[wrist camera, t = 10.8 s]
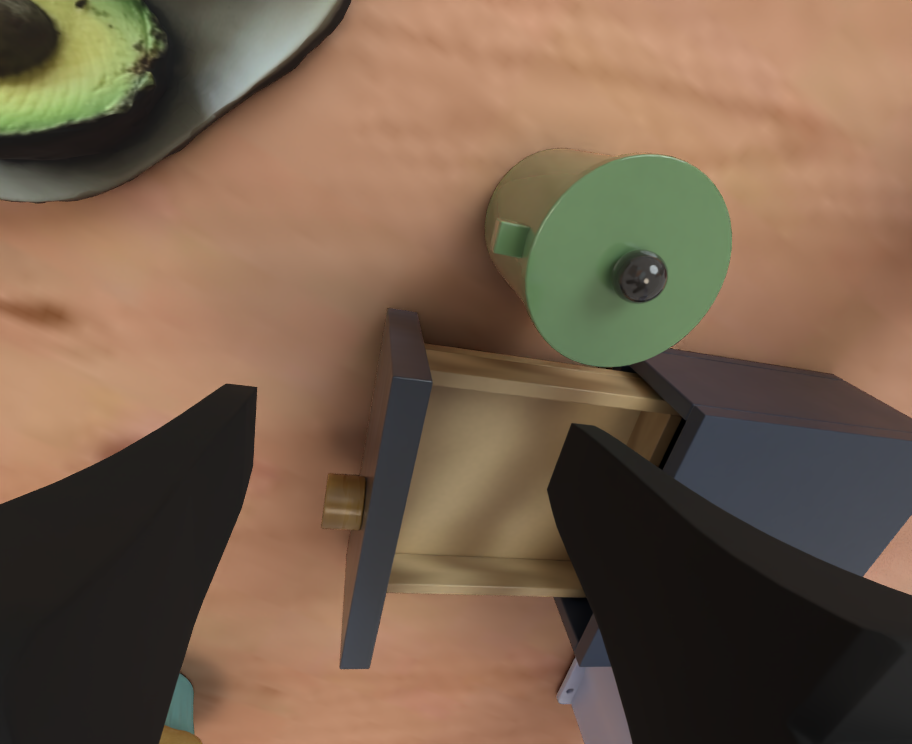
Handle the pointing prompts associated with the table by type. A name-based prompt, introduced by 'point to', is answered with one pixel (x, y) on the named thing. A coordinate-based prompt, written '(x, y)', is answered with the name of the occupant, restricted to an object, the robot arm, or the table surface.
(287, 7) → the avocado toast plate
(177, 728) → the cupcake
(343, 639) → the drawer
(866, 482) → the cabinet
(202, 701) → the table surface
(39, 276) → the table surface
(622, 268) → the pot
